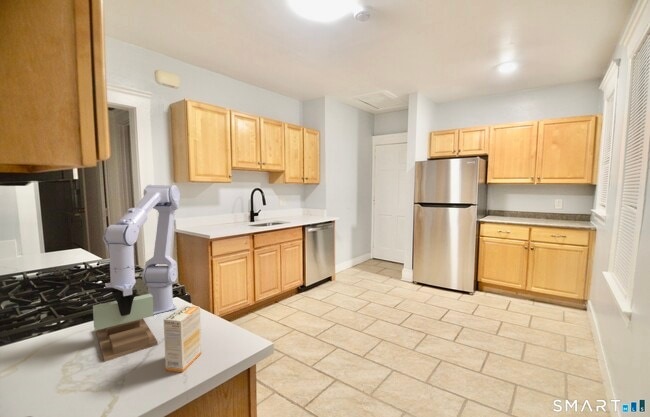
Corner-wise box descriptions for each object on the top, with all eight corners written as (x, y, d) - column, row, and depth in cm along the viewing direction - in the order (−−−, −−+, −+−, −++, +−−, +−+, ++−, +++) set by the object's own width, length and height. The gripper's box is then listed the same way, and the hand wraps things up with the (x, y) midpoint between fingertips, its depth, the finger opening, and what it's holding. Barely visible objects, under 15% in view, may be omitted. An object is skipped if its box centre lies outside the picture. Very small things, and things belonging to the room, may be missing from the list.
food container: (169, 296, 117) (168, 271, 116) (159, 302, 111) (158, 276, 110) (140, 294, 118) (139, 270, 118) (128, 300, 112) (127, 274, 111)
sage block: (151, 312, 92) (150, 293, 91) (153, 315, 89) (153, 296, 89) (93, 326, 82) (92, 305, 82) (94, 330, 80) (93, 309, 79)
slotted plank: (95, 331, 89) (95, 321, 89) (141, 319, 98) (141, 310, 97) (104, 361, 75) (103, 350, 74) (157, 344, 83) (157, 334, 83)
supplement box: (185, 351, 80) (184, 304, 79) (202, 353, 79) (201, 306, 78) (164, 370, 72) (162, 318, 70) (182, 373, 71) (180, 320, 70)
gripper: (101, 263, 87) (104, 308, 88) (108, 275, 76) (111, 326, 77) (130, 259, 92) (132, 302, 93) (140, 270, 81) (142, 318, 82)
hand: (124, 312), depth 85 cm, fingers closed on sage block, 3 cm apart
